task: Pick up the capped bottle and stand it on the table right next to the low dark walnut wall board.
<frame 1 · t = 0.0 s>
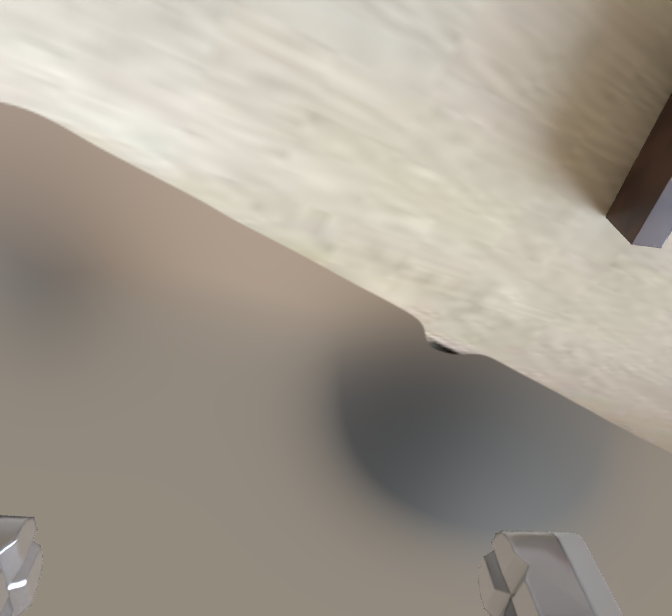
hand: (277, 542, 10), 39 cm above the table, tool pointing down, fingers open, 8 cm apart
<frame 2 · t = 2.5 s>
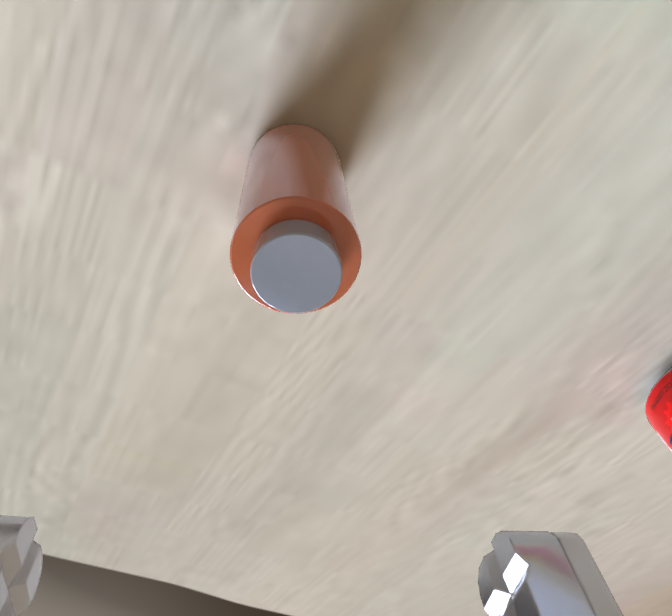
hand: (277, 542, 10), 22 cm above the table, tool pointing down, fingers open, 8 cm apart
capped bottle: (294, 171, 28), on the table
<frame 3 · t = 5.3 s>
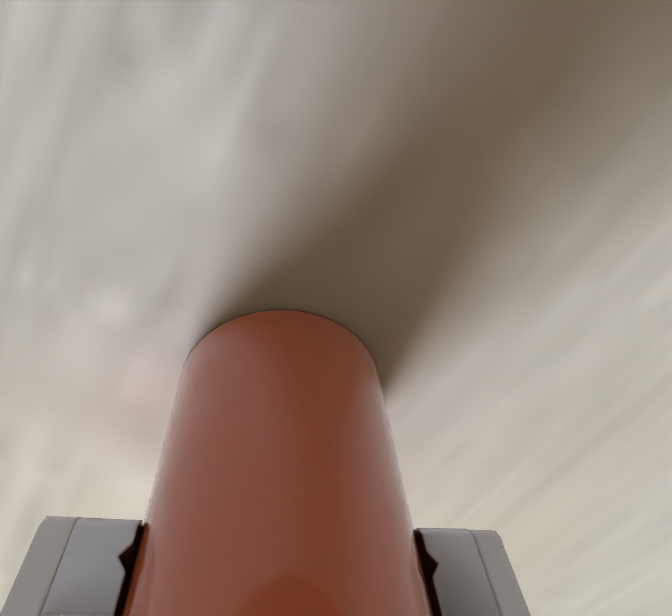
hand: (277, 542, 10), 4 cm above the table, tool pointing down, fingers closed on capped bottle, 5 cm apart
capped bottle: (281, 391, 13), on the table, touching gripper
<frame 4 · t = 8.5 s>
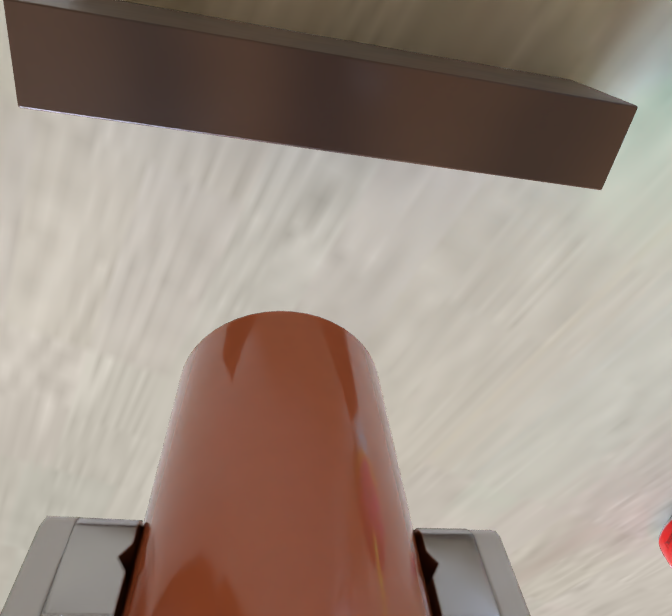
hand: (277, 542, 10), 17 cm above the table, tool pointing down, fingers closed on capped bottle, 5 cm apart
wall: (330, 79, 22), on the table
capped bottle: (281, 392, 13), point 13 cm above the table, touching gripper
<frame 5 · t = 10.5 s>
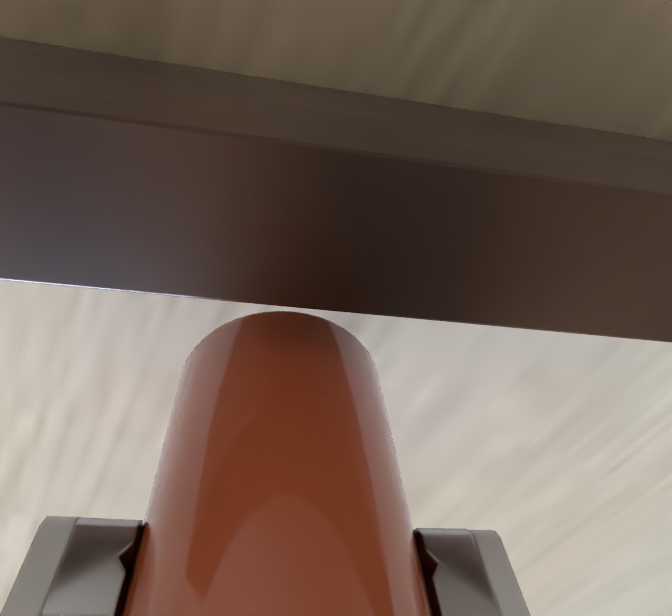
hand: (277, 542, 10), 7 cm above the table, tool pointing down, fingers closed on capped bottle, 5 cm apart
wall: (370, 158, 13), on the table
capped bottle: (280, 392, 13), point 3 cm above the table, touching gripper
when the fingers open (4 cm above the table, at t = 11.8 s): capped bottle stays where it is, on the table.
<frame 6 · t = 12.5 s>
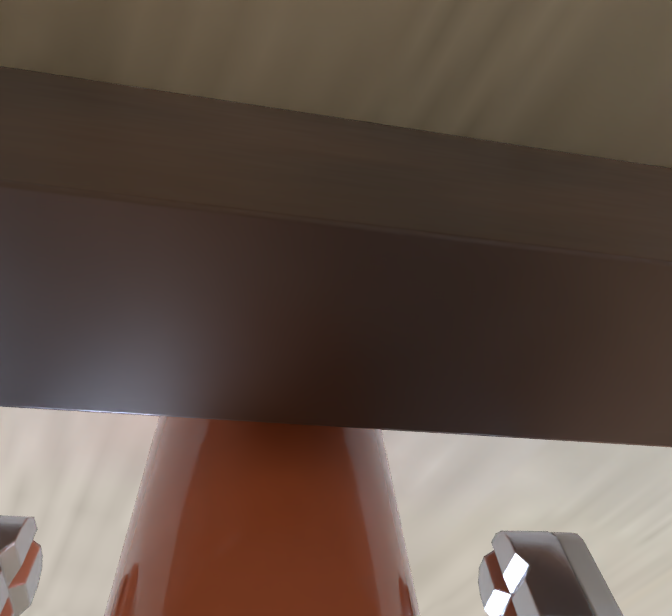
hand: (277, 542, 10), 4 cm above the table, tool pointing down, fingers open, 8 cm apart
wall: (376, 200, 11), on the table
capped bottle: (272, 383, 13), on the table
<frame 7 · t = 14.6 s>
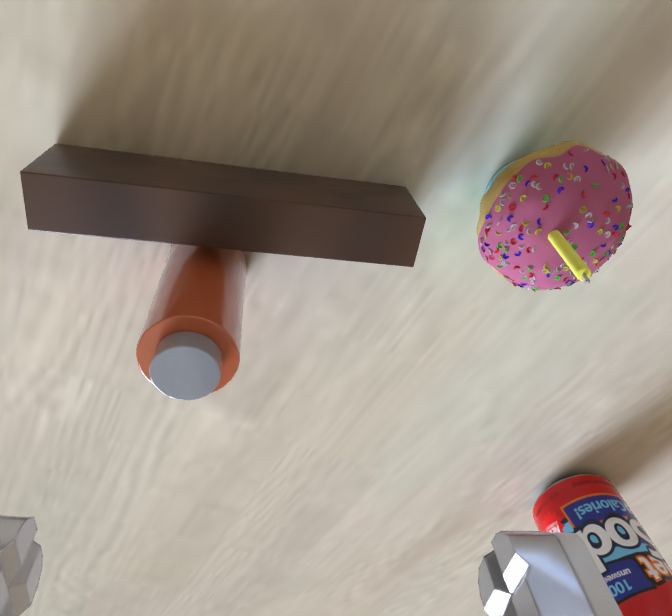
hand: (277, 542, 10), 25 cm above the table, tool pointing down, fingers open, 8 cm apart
soda can: (567, 493, 51), on the table
wall: (238, 191, 32), on the table
cupcake: (520, 192, 34), on the table
capped bottle: (207, 263, 34), on the table
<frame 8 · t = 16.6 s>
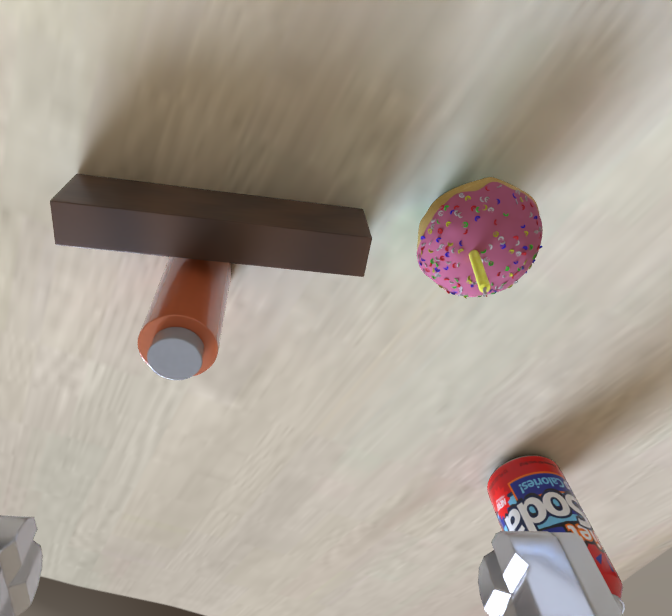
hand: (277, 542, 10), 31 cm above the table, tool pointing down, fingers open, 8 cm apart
soda can: (519, 473, 58), on the table
wall: (224, 211, 39), on the table
cupcake: (460, 213, 41), on the table
capped bottle: (199, 269, 41), on the table
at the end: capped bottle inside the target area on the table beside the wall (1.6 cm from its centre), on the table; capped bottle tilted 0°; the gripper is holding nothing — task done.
